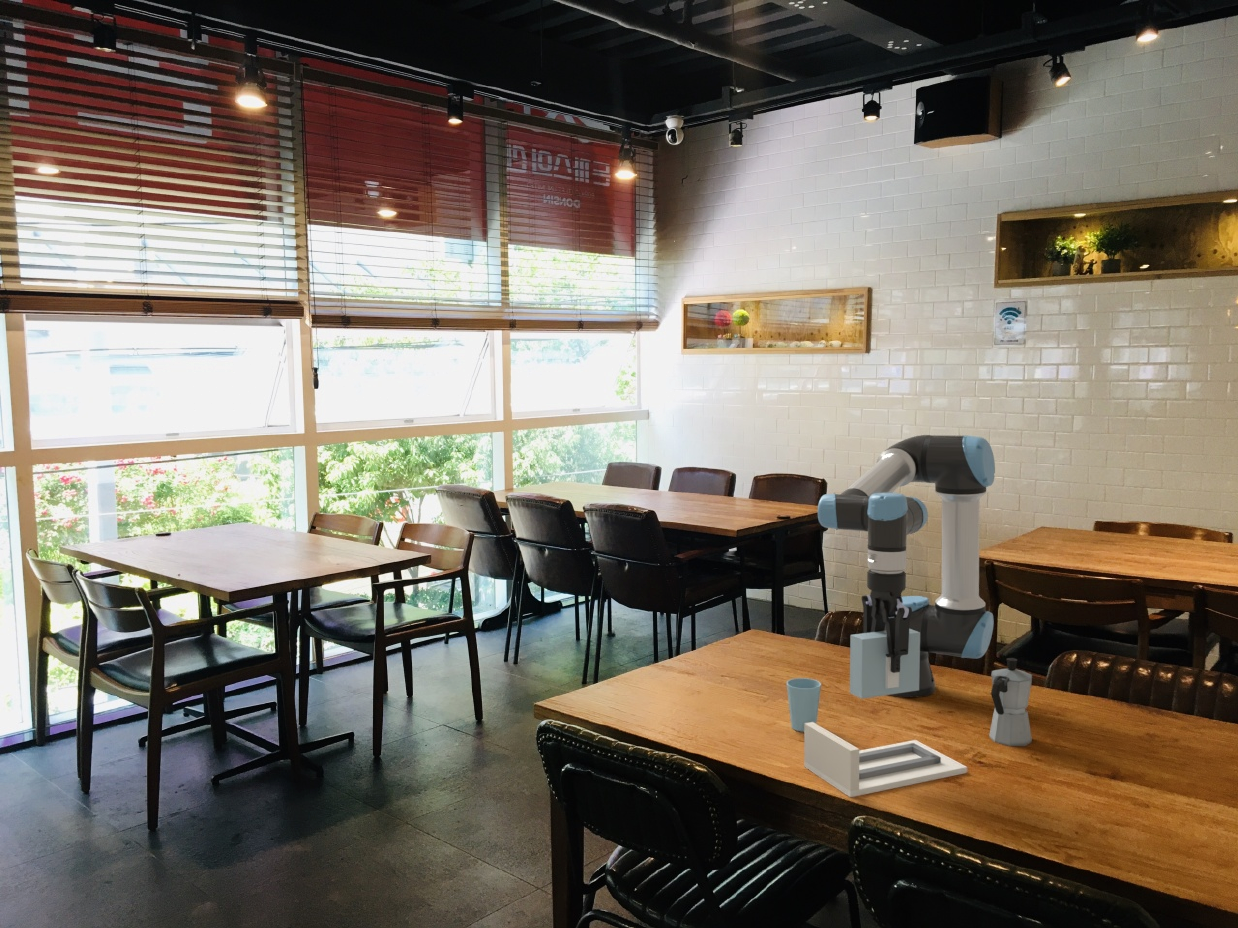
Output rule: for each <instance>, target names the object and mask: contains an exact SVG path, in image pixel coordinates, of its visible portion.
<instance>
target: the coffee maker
mask: <svg viewBox="0 0 1238 928" xmlns="http://www.w3.org/2000/svg"><path fill="white" fill-rule="evenodd" d="M1005 659H1006V665H1007V668H1001V669H995V670H991V674H990V675H991V682H992V687H991V692H990V695H991V698H992V703H993V706H994V708H993V709H994V710H993V714H992V718H991V719H992V720H991V724H990V729H989V730H990V731H989V735H988V737H989V738H990V739H991V740H992V742H994V743H996V744H1000V745H1004V746H1008V747H1026V746H1027V745H1029V744H1031V743H1032V742H1033V741H1032V740H1033V739H1032V733H1031V732H1032V731H1031V726H1030V719H1029V713H1028V710H1026V708H1028V706H1029V699H1030V694H1031V693H1030V692H1031V688H1032V687H1031V686H1032V681H1033V675H1032V674H1031V673H1028V672H1026V671H1025V670H1020V669H1017V663H1018V659H1017V658H1015V657H1008V658H1005Z"/></svg>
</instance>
